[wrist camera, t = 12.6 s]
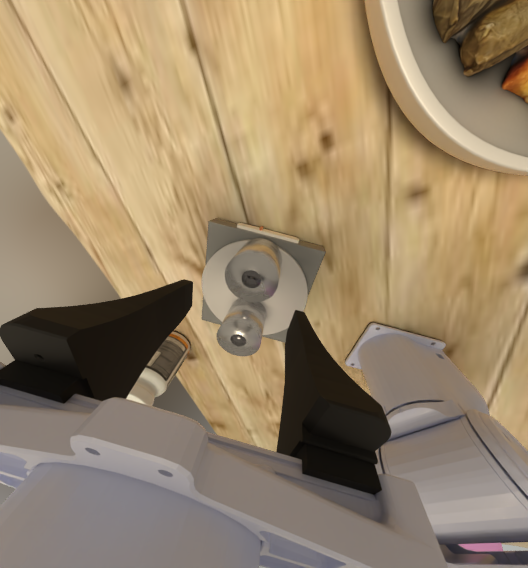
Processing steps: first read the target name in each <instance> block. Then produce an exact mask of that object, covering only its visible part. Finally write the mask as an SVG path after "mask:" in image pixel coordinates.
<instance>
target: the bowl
mask: <svg viewBox="0 0 528 568" xmlns="http://www.w3.org/2000/svg"><path fill="white" fill-rule="evenodd" d="M364 1H365V9H366V15H367V20H368V25H369V30H370V35H371V39H372V43H373V46H374V50H375V54H376V57H377V60H378V63H379V66H380V69H381V71H382V74H383V76H384V78H385V81H386V83H387V85H388V87H389V89H390V91H391V93H392V95H393V97H394V99H395V101H396V102H397V104H398V106H399V107H400V109H401V110H402V112H403V113H404V114H405V116H406V117H407V118H408V120H409V121H410V122H411V123H412V124H413V126H414V127H415V128H416V129H417V130H418V131H419V132H420V133H421V134H422V135H423V136H424V137H425V138H427V139H428V140H429V141H430V142H431V143H433V144H434V145H435V146H437V147H438V148H440V149H441V150H443V151H445V152H446V153H448V154H450V155H451V156H453V157H455V158H457V159H459V160H462V161H464V162H466V163H469V164H472V165H474V166H478V167H481V168H485V169H488V170H492V171H497V172H502V173H507V174H516V175H525V176H528V0H364Z"/></svg>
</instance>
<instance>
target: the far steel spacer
mask: <svg viewBox="0 0 528 568" xmlns="http://www.w3.org/2000/svg"><path fill="white" fill-rule="evenodd" d="M266 316H267V313H266V309H265V307H264V306H263V304H262V303H260V302H257V303H252V302H247V301H244V300H241V299H237V300H235V301H234V302H233V303H232V305H231V307H230V309H229V311H228V313H227V315H226V316H225V318H224V320H223V322H222V324H221V326H220V328H219V330H218V332H217V340H218V343H219V344H220V346H221V347H222V348H223V349H224V350H225V351H227V352H229V353H231V354H233V355H237V356H249V355H252V354H254V353H255V352H257V351H258V349H259V347H260V344H261V339H262V335H263V330H264V325H265V321H266Z"/></svg>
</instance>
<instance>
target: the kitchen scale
mask: <svg viewBox="0 0 528 568" xmlns="http://www.w3.org/2000/svg"><path fill="white" fill-rule="evenodd" d="M256 238H263V239H267V240H269V241H271V242H273V243H274V244H275V245H276V246H277V247H278V248H279V250H280V252H281V255H282V266H281V272H280V278H279V284H278V288H277V290H276V292H275V293H274V295H273V296H272V297H270V298H269V299H267V300H265V301H262V302H260V303H262V304H263V306H264V307H265V309H266V313H267V316H266V321H265V325H264V330H263V335H262V336H263V337H267V338H270V339H274V340H278V341H281V342H286V334H287V330H288V328H289V325H290V322H291V320H292V317H293V314H294V312H295V310H298V311H302V312H303V311H304V309H305V306H306V303H307V297H308V294H309V292H310V289H311V287H312V284H313V282H314V279H315V277H316V275H317V272H318V270H319V267H320V265H321V262H322V260H323V257H324V255H325V250H324V247H323V246H320V245H316V244H313V243H309V242H305V241H301V240H299V238H297V237H294V236H290V235H286V234H282V233H278V232H275V231H271V230H267V229H263V227H262V226H261V227H260V228H259V227H255V226H252V225H248V224H244V223H239V224H236V223H233V222H229V221H225V220H221V219H217V218H215V219H213V220H211V221H209V225H208V238H207V252H206V266H205V268H204V271H203V275H202V291H203V308H202V320H205V321H209V322H212V323H216V324H220V325H221V324H222V322H223V320H224V318H225V316H226V315H227V313H228V311H229V309H230V307H231V305H232V303H233V302H234V301H235V300H237V299H239V298H238V297H236V296H235V295H234V294H233V293H232V292H231V291H230V290H229V288H228V286H227V284H226V281H225V270H226V267H227V265H228V263H229V262H230V261H231V259H232V258H233V257H234V256H235V255H236V254H237V252H238V251H239V250H240V249H241V248H242V247H243V245H244V244H245V243H247V242H248V241H250V240H252V239H256Z"/></svg>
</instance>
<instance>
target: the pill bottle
mask: <svg viewBox="0 0 528 568" xmlns="http://www.w3.org/2000/svg"><path fill="white" fill-rule="evenodd" d="M189 351H190V344H189V342H188V341H187V339H186V338H185V337H184V336H182V335H181V334H179V333H177V332H172V333H171V334H170V335H169V336H168V337H167V339H166V340H165V341H164V342H163V343H162V345H161V346H160V347H159V348H158V350H157V351H156V353H155V354H154V356H153V357H152V358H151V360H150V361H149V363H148V364H147V366H146V367H145V369H144V371H143V372H142V374H141V375H140V377H139V378H138V380H137V382H136V383H135V385H134V386H133V388H132V390H131V391H130V393H129V395H128V396H127V398H126V399H128V400H132V401H135V402H139V403H142V404H145V405H149V406H152V405H153V403H154V397H157V396H159V395H161V394H162V393H164V392H165V390H166V389H167V387H168V386H169V384H170V382H171V381H172V379H173V378H174V376H175V374H176V373H177V371H178V370H179V368H180V367H181V365H182V363H183V362H184V360H185V359H186V357H187V355H188V353H189Z"/></svg>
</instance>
